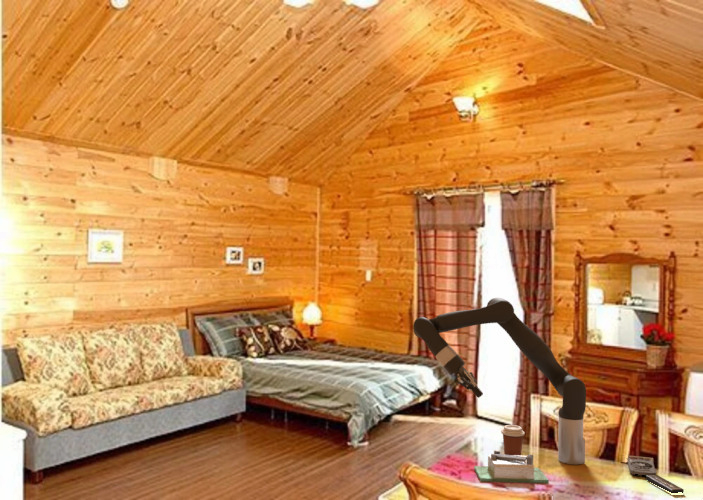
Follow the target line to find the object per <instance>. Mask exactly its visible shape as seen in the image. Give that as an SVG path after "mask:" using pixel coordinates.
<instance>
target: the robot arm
mask: <svg viewBox="0 0 703 500" xmlns="http://www.w3.org/2000/svg"><path fill="white" fill-rule="evenodd" d="M484 324H497V325H499V326H500V327H501V328H502V329H503V330H504V332H505V333H507V335H508V336H509V337H510V339H511V340H512V342H514V344H515V345H516V347H517V348H518V349H519V350H520V351H521V352H522V354H523V355H524V356H525V357H526V358H527V359H528V360H529V361H530V363H532V364H533V365H534V366H535V367H536V368H537V370H539V371H540V372H541V373H542V374H543V375H544V376H545V377H546V378H547V380H548V381H549V383H551V385H552V386H553V388H554V389H555V390H556V392H557V393H558V394H559V396H561V397H562V405H561V407H560V408H558V437H557V438H558V441H557V443H558V444H557V445H558V446H557V448H558V449H557V452H558V453H557V459H558V461H559V462H560V463H563V464H567V465H581V464H586V439H585V437H584V414H585V412H586V409H587V408H586V405H587V404H586V403H587V387H586V384H585V383H584V381H583V380H581V379H580V378H577V377H576V376H574V375H572V374H571V373H569V372H568V371H567V370H566V369H565V368H564V367H563V366H561V364H560V363H559V362H558V361H557V359H556V357H555V355H554V352H553V351H552V349H551V348H550V346H549V345H548V344H547V343H546V342H545V341H544V340H543V339H542V338H541V337H540V336H539V334H537V333H536V332H535V331H534V330H533V329H532V328H530V327H529V326H528V325H527V324H525V323H524V322H523V321H522V320H521V319H520V318H519V317H518V316H517V314H516V313H515V309H514V306H513V304H512V303H511V302H509V301H508V300H507V299H504V298H502V297H494V298H491V299H490V300H489V301H488V302H487V303H486V306H482V307H480V308H475V309H467V310H466V309H465V310H455V311H451V312H445V313H441V314H438V315H436V317H433V318H430V319H428V318H426V317H424V316H420V317H417V318H416V319H415V320H414V322H413V324H412V325H413V330H412V331H413V334H414V335H415V337H418V338H420V339H422V341H423V342H424V343H425V344H426V346H427V349H428V350H429V351H430V352H431V353H432V354H433V356H434V357H435V359H436V360H437V362H438V363H439V364H440V365H441V366H442V367H443V369H444V371H446V372H447V373H448V374H449V376H453V375H455V378H457V383H458V384H459V385H460V386H462V388H465V389H466V390H467V391H469V390H470V391H471V392H472V393H473V394H474V395H475V397H477V398H480V397H482V396H483V394H484V393H483V391H482V390H481V389H480V388H479V387H478V382H477V380H476V378H475V375H474V373H473V372H471V371H468V369H466V368H465V367H464V366H465V365H466V362H465V360H464V359H463V358H462V357H461V356H460V355H459V354H458V353H457V351H456V350H455V349H454V348H453V347H452V346H450V345H449V344H448V342H447V341H446V339H445V338H444V337H442V336H441V333H445V332H450V331H455V330H460V329H464V328H468V327H473V326H477V325H484Z"/></svg>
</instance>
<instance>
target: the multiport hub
mask: <svg viewBox="0 0 703 500" xmlns="http://www.w3.org/2000/svg"><path fill="white" fill-rule="evenodd" d="M646 480H648V481H649V482H651V483H653V484H655V485H657V486H659V487H661V488H663V489H665V490H667V491H669V492H671V493H678V492H682V493H683V492H685V491H684V490H685V489H683V488H681V487H680V486H678V485H676V484H675V483H673V482H670V481H669V480H668V479H665V478H663V477H662V476H660V475H658V474H657V475H646V477H645V481H646ZM648 481H647V482H648ZM649 482H648V483H649ZM651 483H650V484H651ZM653 484H652V485H653ZM655 485H654V486H655Z"/></svg>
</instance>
